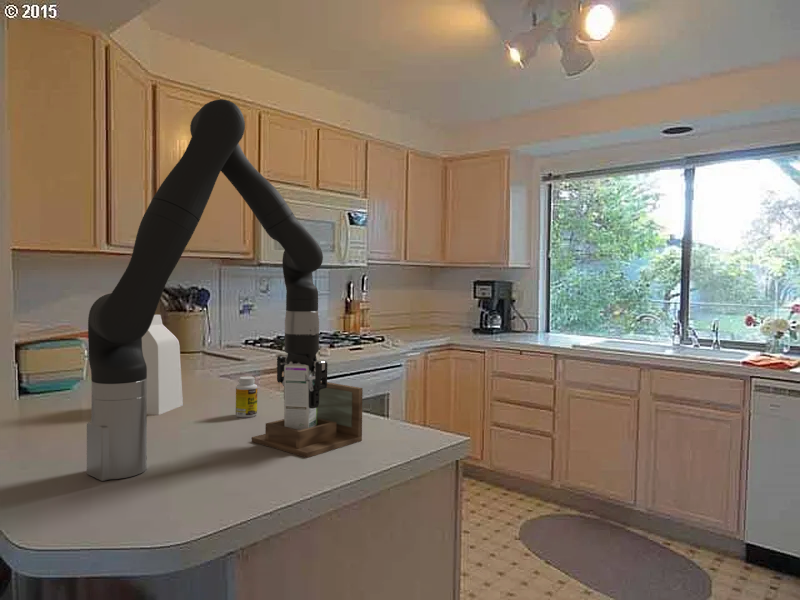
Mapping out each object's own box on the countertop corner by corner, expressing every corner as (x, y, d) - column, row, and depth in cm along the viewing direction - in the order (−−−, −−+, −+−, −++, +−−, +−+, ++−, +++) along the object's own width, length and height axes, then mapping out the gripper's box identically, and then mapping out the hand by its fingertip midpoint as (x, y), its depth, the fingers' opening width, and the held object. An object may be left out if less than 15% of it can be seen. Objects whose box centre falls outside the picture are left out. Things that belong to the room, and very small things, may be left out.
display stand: (307, 457, 117) (307, 399, 116) (251, 441, 128) (252, 388, 127) (361, 440, 130) (362, 388, 130) (307, 427, 141) (307, 378, 141)
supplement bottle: (248, 419, 148) (248, 379, 148) (231, 416, 151) (231, 378, 150) (261, 414, 154) (261, 376, 153) (244, 412, 156) (245, 375, 155)
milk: (158, 414, 152) (159, 316, 151) (119, 412, 154) (119, 315, 153) (182, 405, 164) (183, 314, 163) (145, 403, 165) (146, 313, 165)
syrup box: (308, 431, 124) (309, 365, 123) (283, 430, 125) (283, 363, 125) (317, 425, 129) (318, 361, 129) (293, 423, 131) (293, 360, 130)
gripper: (267, 330, 128) (266, 403, 129) (312, 334, 119) (311, 413, 120) (292, 328, 134) (292, 398, 134) (337, 332, 125) (336, 407, 126)
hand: (301, 405), depth 127 cm, fingers closed on syrup box, 7 cm apart
